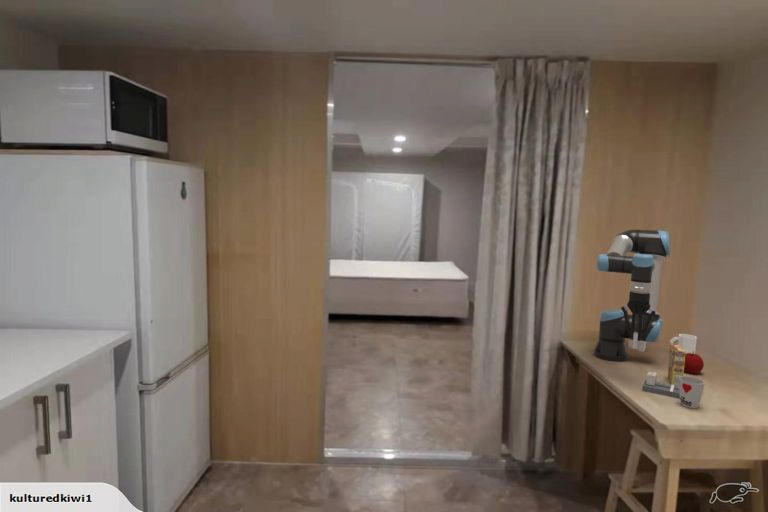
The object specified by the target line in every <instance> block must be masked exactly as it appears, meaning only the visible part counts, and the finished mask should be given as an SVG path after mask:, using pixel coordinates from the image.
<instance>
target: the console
mask: <svg viewBox="0 0 768 512" xmlns="http://www.w3.org/2000/svg"><path fill="white" fill-rule="evenodd" d="M646 381H647V379H645V380H644V381H643V384H642V389H641V390H642V391H644V392H648V393H652V394H656V395H657V394H658V395H661V396H667V397H671V398H675V399H679V398H680V395H679V386H676V385H672V384H671V383H665V382H659V381H656V383H655V386H652V385H648V384H646Z"/></svg>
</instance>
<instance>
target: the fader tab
mask: <svg viewBox="0 0 768 512" xmlns="http://www.w3.org/2000/svg"><path fill="white" fill-rule="evenodd" d="M657 374H658V373H657V372H653V371H648V372H647V374H646V380H647V381H646V384H648V385H652V386H655V383H656V382H657Z"/></svg>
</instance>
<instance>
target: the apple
mask: <svg viewBox="0 0 768 512" xmlns="http://www.w3.org/2000/svg"><path fill="white" fill-rule="evenodd" d="M693 353H694V352H693ZM703 369H704V360H703V358H702V357H701V355H698V354H696V353H695V354H692V353H686V354H685V364H684V372H686V373H689V374H694V375H695V374H699V373H701V372H702V371H703Z"/></svg>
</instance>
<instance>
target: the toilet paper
mask: <svg viewBox="0 0 768 512" xmlns="http://www.w3.org/2000/svg"><path fill="white" fill-rule="evenodd" d="M627 346H628V347H629V348H630V349H633V350H635V351H639V352H642V353H644V352H645V350H646V347H647V342H645V341H638V346H637V349H634V348H633V340H631V339H628V344H627Z"/></svg>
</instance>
